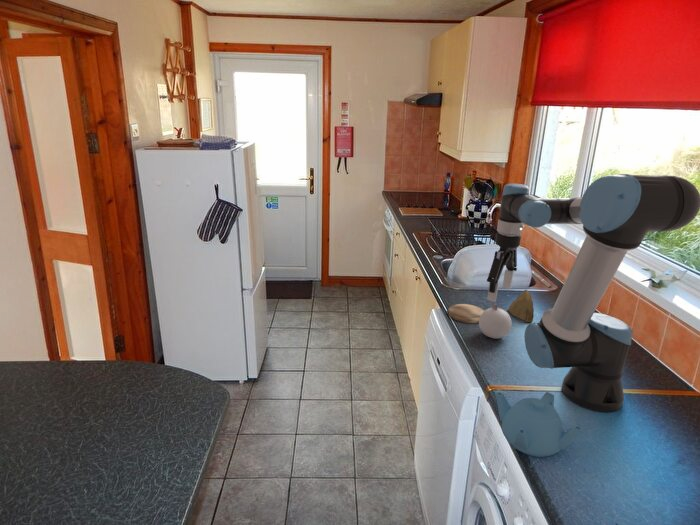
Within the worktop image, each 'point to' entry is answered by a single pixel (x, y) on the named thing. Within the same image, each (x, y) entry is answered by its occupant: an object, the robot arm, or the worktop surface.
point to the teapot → (534, 425)
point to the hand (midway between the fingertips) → (499, 294)
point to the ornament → (495, 322)
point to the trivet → (465, 313)
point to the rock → (523, 307)
